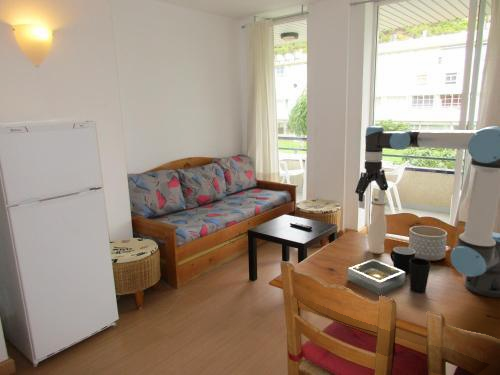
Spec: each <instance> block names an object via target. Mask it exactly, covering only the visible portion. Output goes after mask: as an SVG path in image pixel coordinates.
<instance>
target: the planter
mask: <svg viewBox="0 0 500 375" xmlns="http://www.w3.org/2000/svg"><path fill="white" fill-rule="evenodd" d="M408 235H409V236H408V247H407V248H411V249H413V250H414V251H415V258H421V259H425V260H428V261H429V262H434V261H435V262H436V261H439V260H442V259H444V258H446V251H447V240H448V239H447V238H448V232H447V231H446V230H444V229H443V228H440V227H436V226H430V225H429V226H428V225H415V226H412V227H410V228H409V232H408Z"/></svg>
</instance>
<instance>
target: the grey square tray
mask: <svg viewBox="0 0 500 375" xmlns="http://www.w3.org/2000/svg"><path fill="white" fill-rule="evenodd" d="M405 278H406V275H405V271H402V270H399V269H397V268H394V266H392V265H389V264H386V263H384V262H381V261H379V260H376V259H374V258H373V259H370V260H366V261H365V262H362V263H359V264H355V265H352V266H350V267H348V270H347V281H349V282H351V283H353V284H356V285H357V286H359V287H361V288H364V289H366V290H367V291H369V292H372V293H374V294H376V295H378V296H381V295H383V294H386V293H388V292H390V291H393V290H394V289H397V288H399V287H401V286H404V285H405V281H406V279H405Z"/></svg>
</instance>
